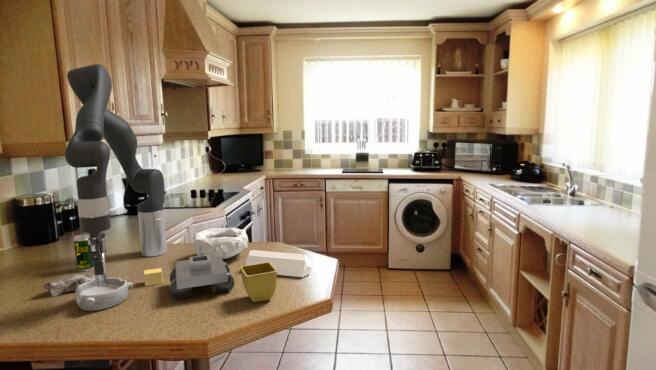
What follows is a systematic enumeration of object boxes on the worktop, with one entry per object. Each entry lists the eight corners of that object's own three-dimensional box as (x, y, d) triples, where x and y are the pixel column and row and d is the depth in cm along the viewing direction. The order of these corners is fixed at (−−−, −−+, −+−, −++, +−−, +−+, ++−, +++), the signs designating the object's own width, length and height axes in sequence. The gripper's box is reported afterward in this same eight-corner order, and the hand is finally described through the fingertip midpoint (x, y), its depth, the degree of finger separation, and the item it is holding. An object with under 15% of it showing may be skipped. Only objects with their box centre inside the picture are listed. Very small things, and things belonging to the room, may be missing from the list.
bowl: (209, 247, 167) (208, 224, 165) (257, 250, 163) (256, 225, 161) (182, 265, 147) (180, 238, 145) (235, 268, 142) (233, 240, 141)
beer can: (77, 268, 145) (74, 235, 144) (95, 265, 148) (91, 233, 146) (75, 273, 141) (71, 239, 139) (93, 270, 143) (90, 237, 141)
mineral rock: (100, 280, 134) (99, 267, 134) (101, 288, 128) (100, 274, 127) (46, 290, 127) (44, 276, 126) (44, 299, 120) (42, 284, 120)
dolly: (170, 283, 130) (168, 254, 128) (228, 275, 136) (226, 247, 135) (170, 304, 115) (167, 271, 114) (235, 293, 121) (233, 262, 120)
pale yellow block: (145, 282, 132) (144, 270, 131) (162, 279, 134) (161, 267, 133) (145, 286, 128) (144, 274, 128) (162, 284, 130) (161, 272, 129)
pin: (95, 283, 118) (91, 246, 117) (109, 281, 120) (106, 244, 118) (93, 287, 115) (89, 249, 113) (107, 285, 116) (104, 248, 115)
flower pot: (247, 307, 112) (246, 276, 111) (241, 295, 120) (239, 266, 119) (278, 301, 116) (277, 271, 114) (270, 290, 124) (269, 261, 122)
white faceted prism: (237, 263, 136) (305, 270, 129) (246, 247, 142) (311, 253, 135) (244, 278, 141) (309, 285, 134) (252, 262, 146) (315, 268, 139)
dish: (93, 317, 108) (91, 299, 108) (64, 306, 115) (62, 289, 114) (141, 296, 121) (140, 280, 120) (112, 288, 128) (111, 272, 127)
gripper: (84, 209, 119) (90, 266, 122) (73, 220, 106) (80, 283, 109) (112, 207, 122) (118, 263, 124) (105, 217, 109) (111, 279, 112)
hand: (100, 272), depth 117 cm, fingers closed on pin, 2 cm apart
